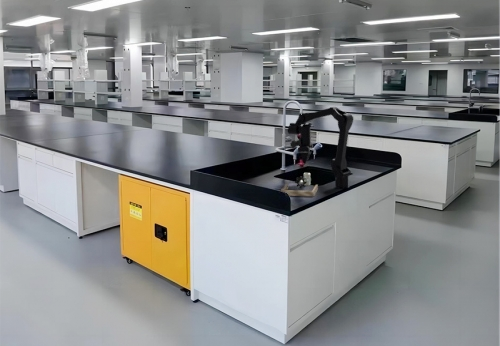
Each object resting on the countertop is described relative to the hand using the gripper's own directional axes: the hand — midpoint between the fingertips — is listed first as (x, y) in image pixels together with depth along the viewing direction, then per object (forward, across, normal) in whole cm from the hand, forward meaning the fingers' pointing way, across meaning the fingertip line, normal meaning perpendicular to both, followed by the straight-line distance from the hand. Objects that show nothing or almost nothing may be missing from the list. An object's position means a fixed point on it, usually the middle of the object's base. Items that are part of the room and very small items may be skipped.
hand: (305, 162), depth 246 cm
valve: (+12, +8, 0) cm, 15 cm away
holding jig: (+12, +24, 0) cm, 26 cm away
